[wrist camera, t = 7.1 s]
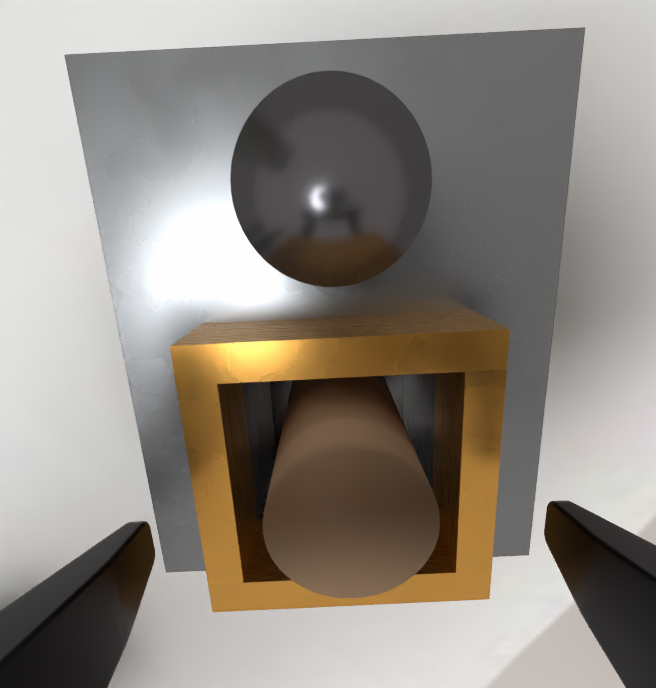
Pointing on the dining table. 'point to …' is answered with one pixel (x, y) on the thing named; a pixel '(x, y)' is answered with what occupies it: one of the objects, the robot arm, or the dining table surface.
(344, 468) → the wooden plug
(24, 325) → the dining table surface
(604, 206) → the dining table surface
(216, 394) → the grey block with socket
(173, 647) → the dining table surface
